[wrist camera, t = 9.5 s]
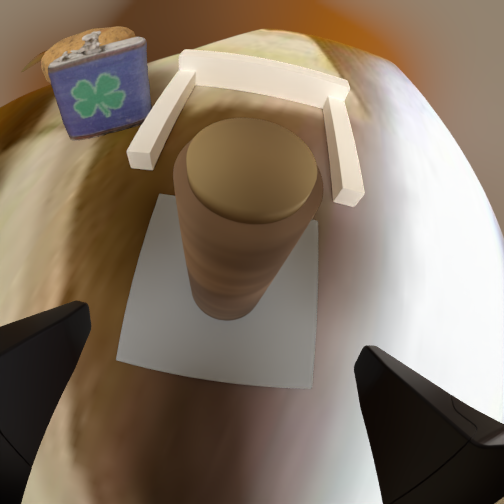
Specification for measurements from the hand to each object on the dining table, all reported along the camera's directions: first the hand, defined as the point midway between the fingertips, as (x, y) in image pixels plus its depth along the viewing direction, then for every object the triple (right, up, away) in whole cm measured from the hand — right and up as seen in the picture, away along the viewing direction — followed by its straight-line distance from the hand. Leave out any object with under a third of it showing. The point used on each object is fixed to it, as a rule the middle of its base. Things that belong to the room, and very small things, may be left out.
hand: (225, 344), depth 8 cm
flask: (-14, +15, +15) cm, 25 cm away
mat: (-1, +1, +10) cm, 10 cm away
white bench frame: (+1, +15, +17) cm, 23 cm away
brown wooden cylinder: (-1, +1, +9) cm, 9 cm away
